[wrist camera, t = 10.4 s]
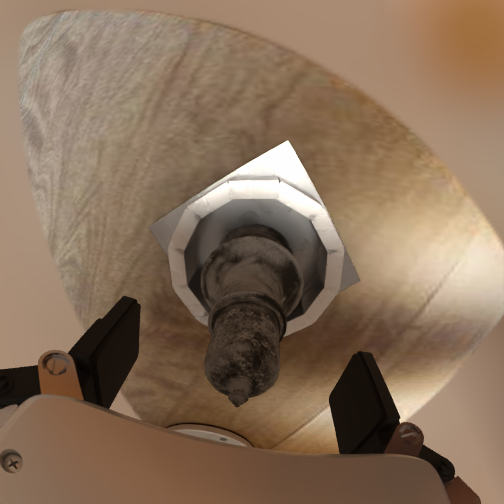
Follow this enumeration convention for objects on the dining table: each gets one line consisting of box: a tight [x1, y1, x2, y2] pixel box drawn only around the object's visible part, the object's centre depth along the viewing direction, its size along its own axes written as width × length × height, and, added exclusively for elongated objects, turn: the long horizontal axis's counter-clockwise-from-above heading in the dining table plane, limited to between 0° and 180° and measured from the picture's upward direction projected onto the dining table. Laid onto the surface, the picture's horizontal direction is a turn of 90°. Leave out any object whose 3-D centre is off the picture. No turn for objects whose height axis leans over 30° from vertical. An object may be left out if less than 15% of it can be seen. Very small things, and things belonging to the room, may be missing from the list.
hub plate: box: [148, 141, 360, 337], centre depth 19 cm, size 11×11×4 cm
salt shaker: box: [201, 224, 304, 407], centre depth 14 cm, size 6×6×12 cm
